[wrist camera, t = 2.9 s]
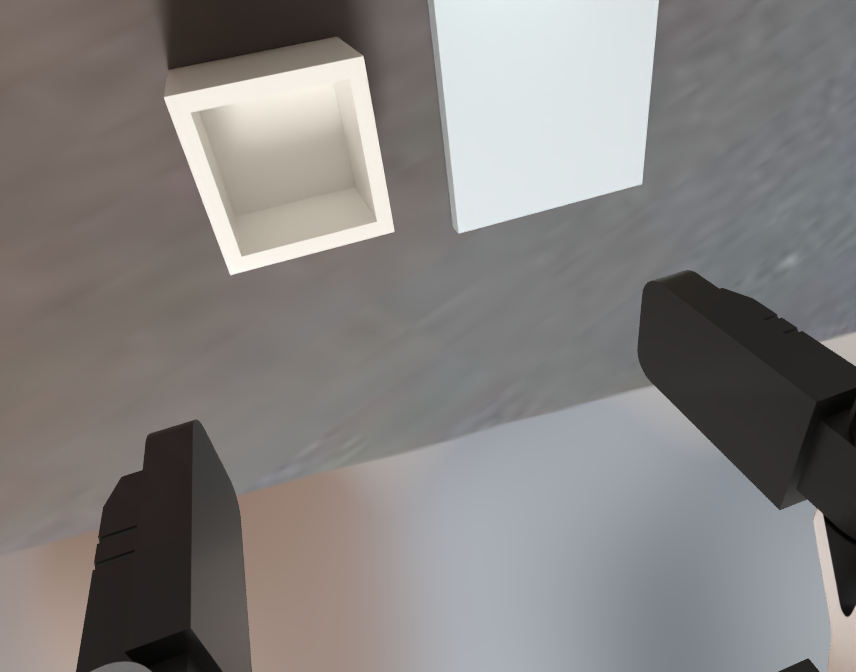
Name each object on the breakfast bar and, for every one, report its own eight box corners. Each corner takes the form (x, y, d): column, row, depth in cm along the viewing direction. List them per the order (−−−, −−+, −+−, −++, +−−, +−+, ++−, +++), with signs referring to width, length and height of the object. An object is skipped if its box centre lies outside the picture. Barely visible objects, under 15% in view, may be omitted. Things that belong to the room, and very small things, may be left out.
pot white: (337, 36, 23) (363, 56, 20) (367, 191, 27) (394, 231, 23) (167, 70, 22) (163, 97, 18) (224, 227, 26) (230, 274, 22)
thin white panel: (651, -48, 25) (663, -47, 25) (632, 178, 31) (641, 184, 30) (427, -5, 23) (433, -3, 23) (452, 227, 29) (458, 233, 29)
